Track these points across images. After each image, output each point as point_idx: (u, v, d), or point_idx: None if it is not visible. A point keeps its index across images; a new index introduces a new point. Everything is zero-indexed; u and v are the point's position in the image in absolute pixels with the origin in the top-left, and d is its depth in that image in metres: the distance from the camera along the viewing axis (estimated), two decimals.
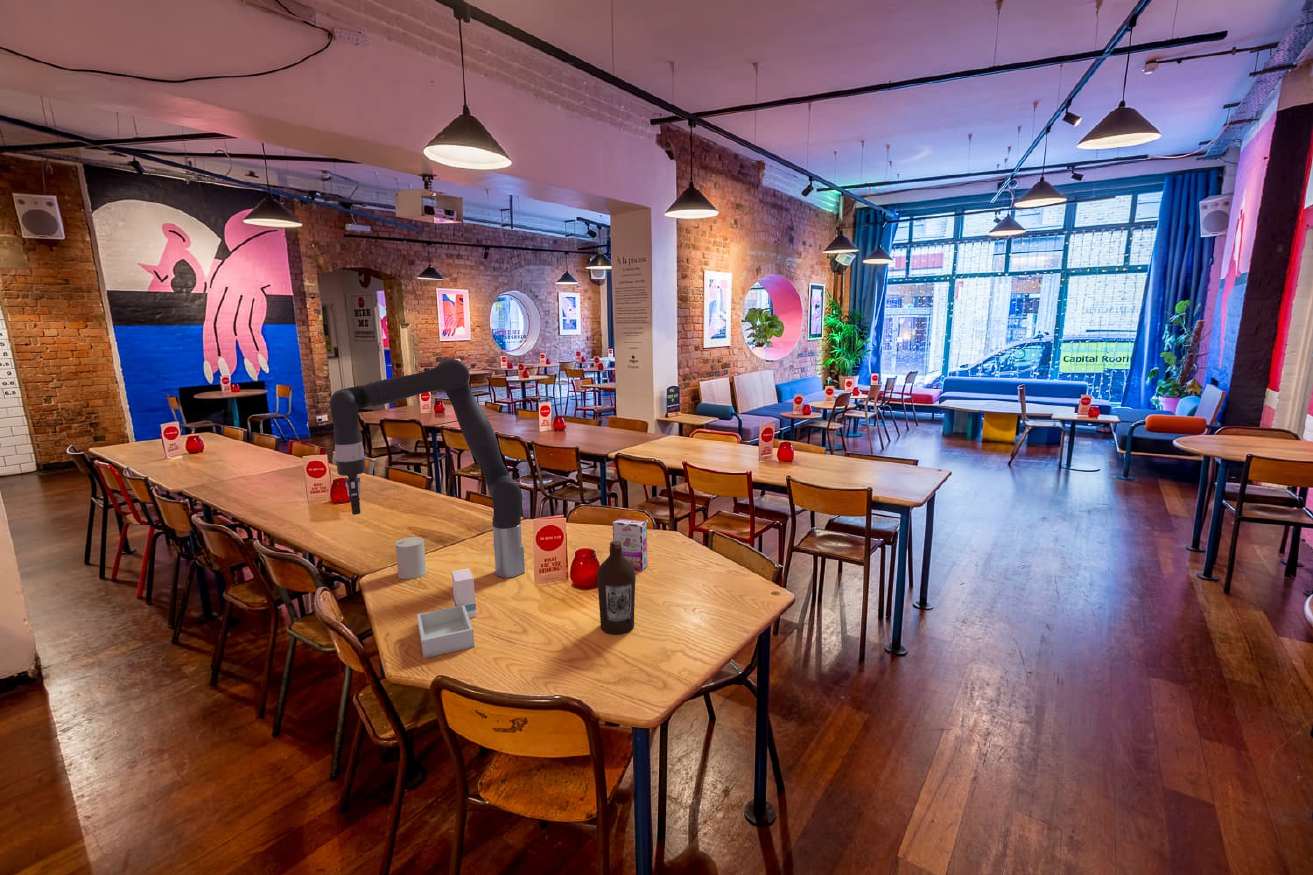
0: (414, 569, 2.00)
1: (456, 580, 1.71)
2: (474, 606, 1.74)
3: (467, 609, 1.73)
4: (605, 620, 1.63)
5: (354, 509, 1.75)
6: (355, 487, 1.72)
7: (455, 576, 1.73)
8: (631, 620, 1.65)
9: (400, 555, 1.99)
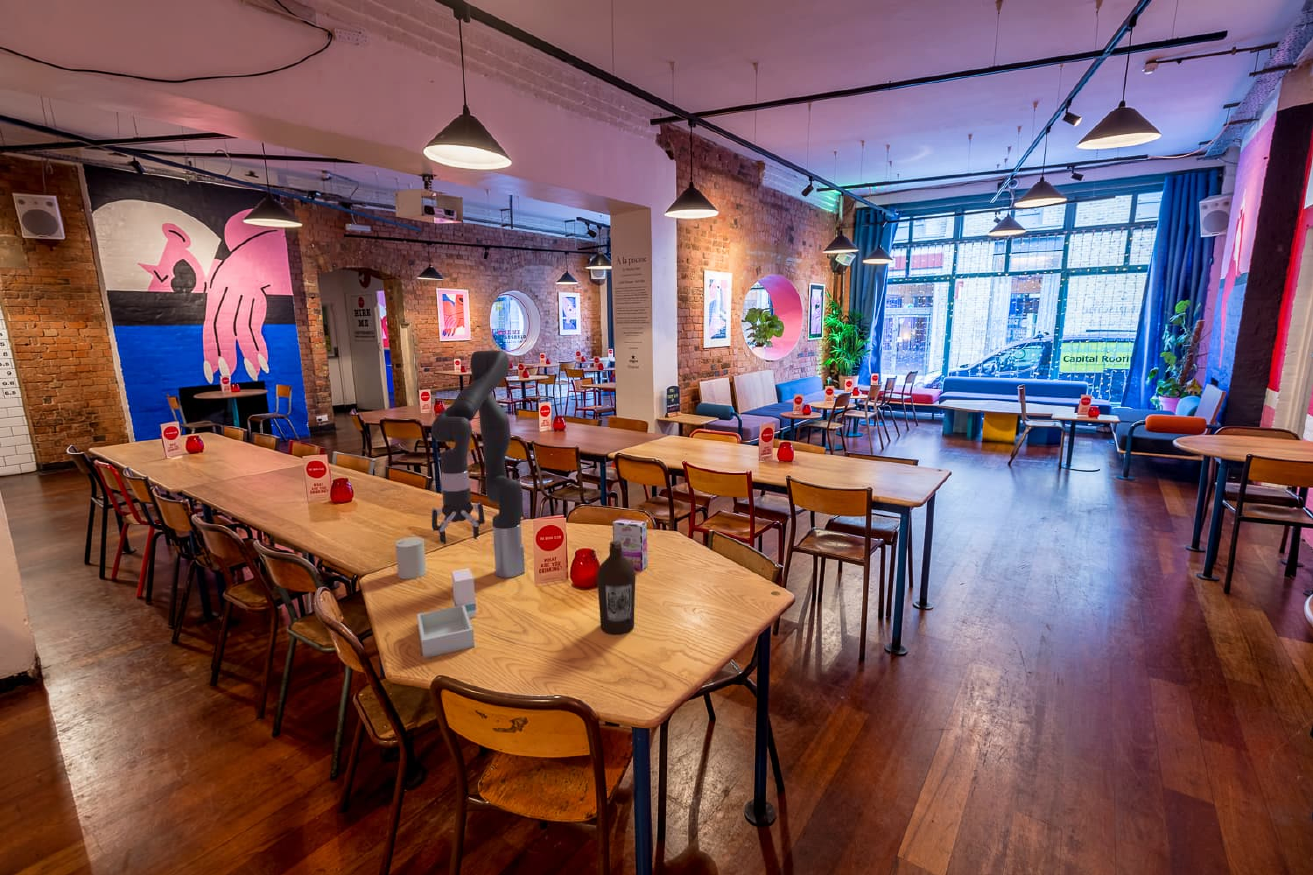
0: (414, 569, 2.00)
1: (456, 580, 1.71)
2: (474, 606, 1.74)
3: (467, 609, 1.73)
4: (605, 620, 1.63)
5: None
6: None
7: (455, 576, 1.73)
8: (631, 620, 1.65)
9: (400, 555, 1.99)
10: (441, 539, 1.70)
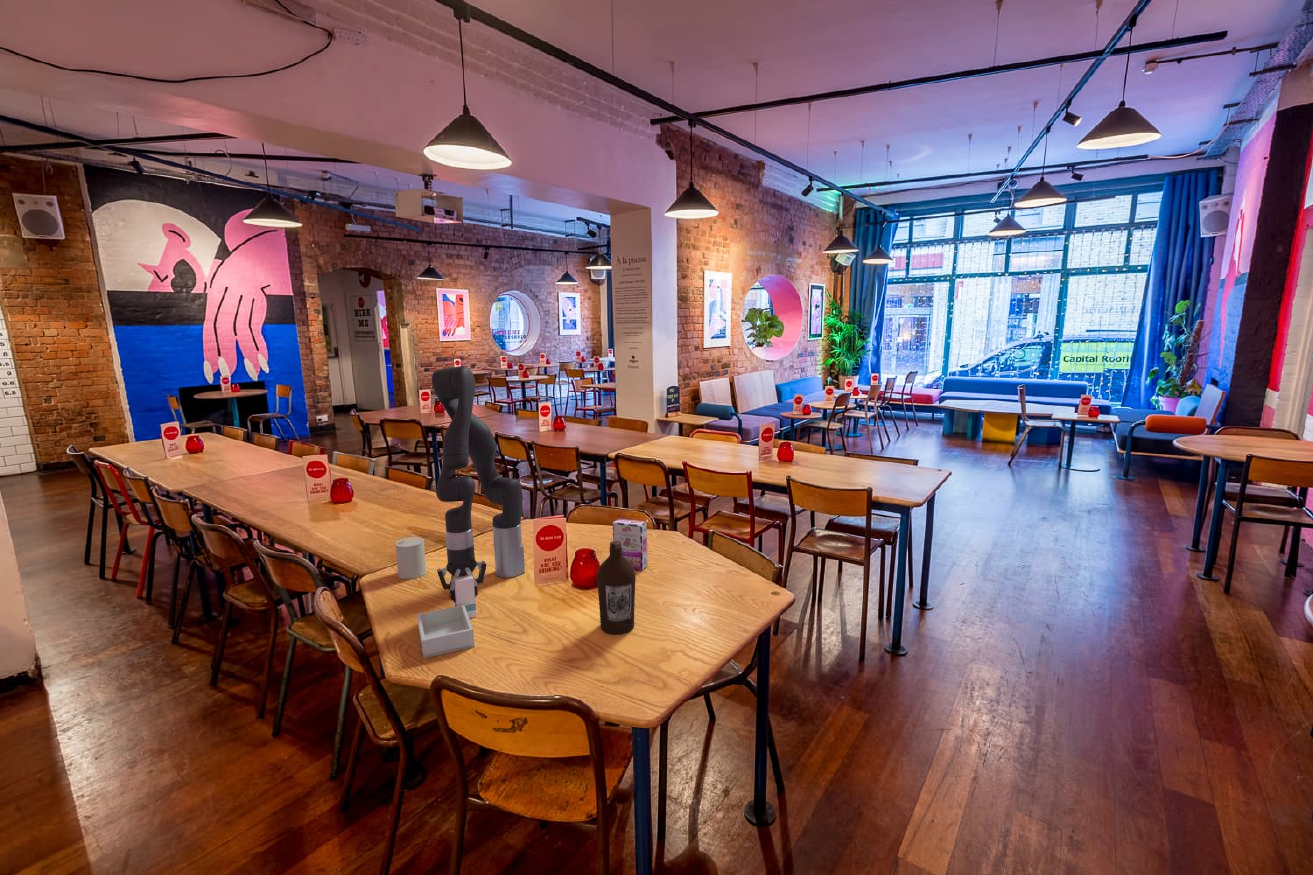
0: (414, 569, 2.00)
1: (456, 580, 1.71)
2: (474, 606, 1.74)
3: (467, 609, 1.73)
4: (605, 620, 1.63)
5: None
6: None
7: None
8: (631, 620, 1.65)
9: (400, 555, 1.99)
10: (451, 597, 1.74)
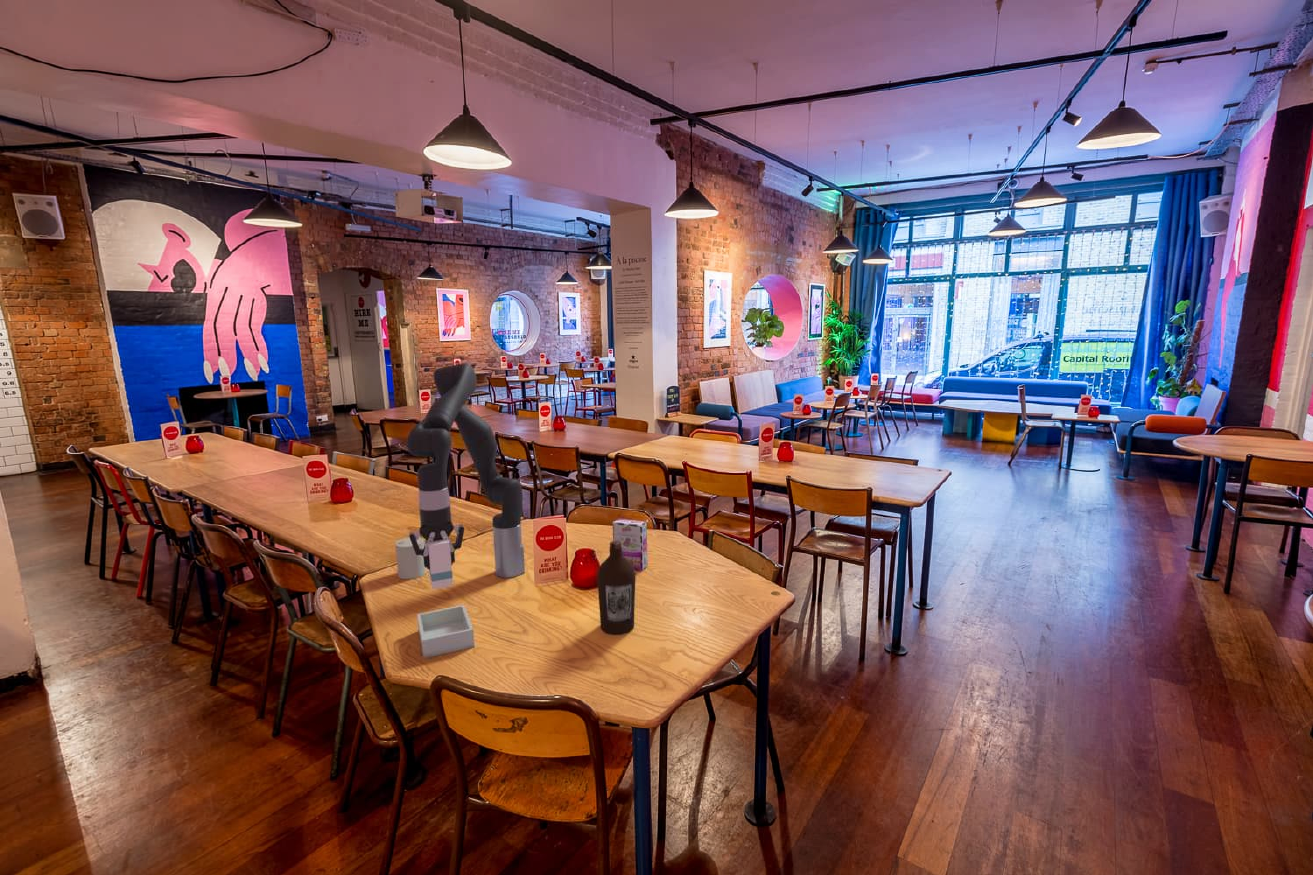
0: (414, 569, 2.00)
1: (430, 544, 1.53)
2: (450, 574, 1.56)
3: (442, 577, 1.55)
4: (605, 620, 1.63)
5: None
6: None
7: None
8: (631, 620, 1.65)
9: (400, 555, 1.99)
10: (425, 564, 1.56)
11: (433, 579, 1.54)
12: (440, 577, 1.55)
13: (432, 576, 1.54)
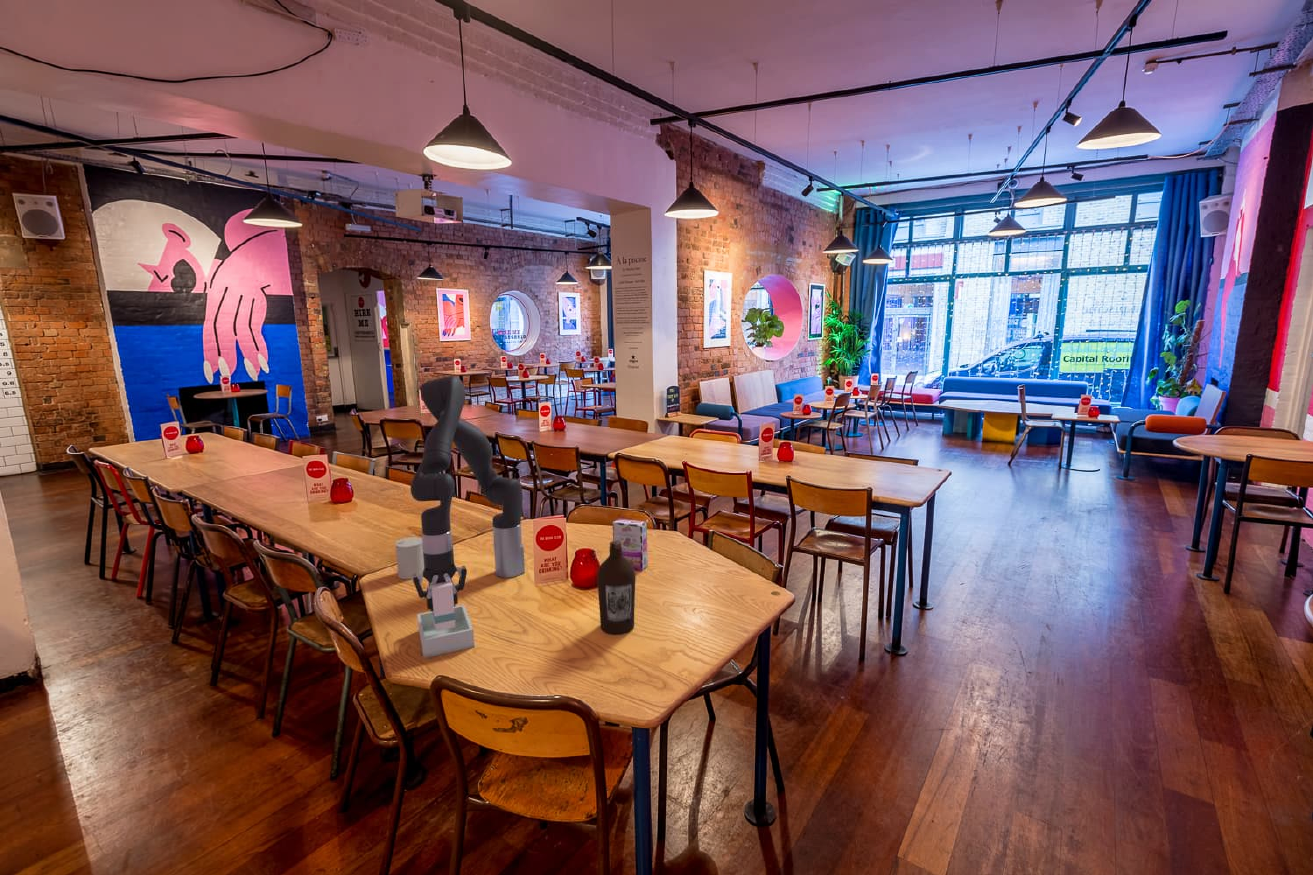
0: (414, 569, 2.00)
1: (433, 587, 1.55)
2: (453, 616, 1.58)
3: (445, 619, 1.57)
4: (605, 620, 1.63)
5: None
6: None
7: None
8: (631, 620, 1.65)
9: (400, 555, 1.99)
10: (428, 606, 1.58)
11: (436, 621, 1.56)
12: (443, 619, 1.57)
13: (435, 618, 1.56)
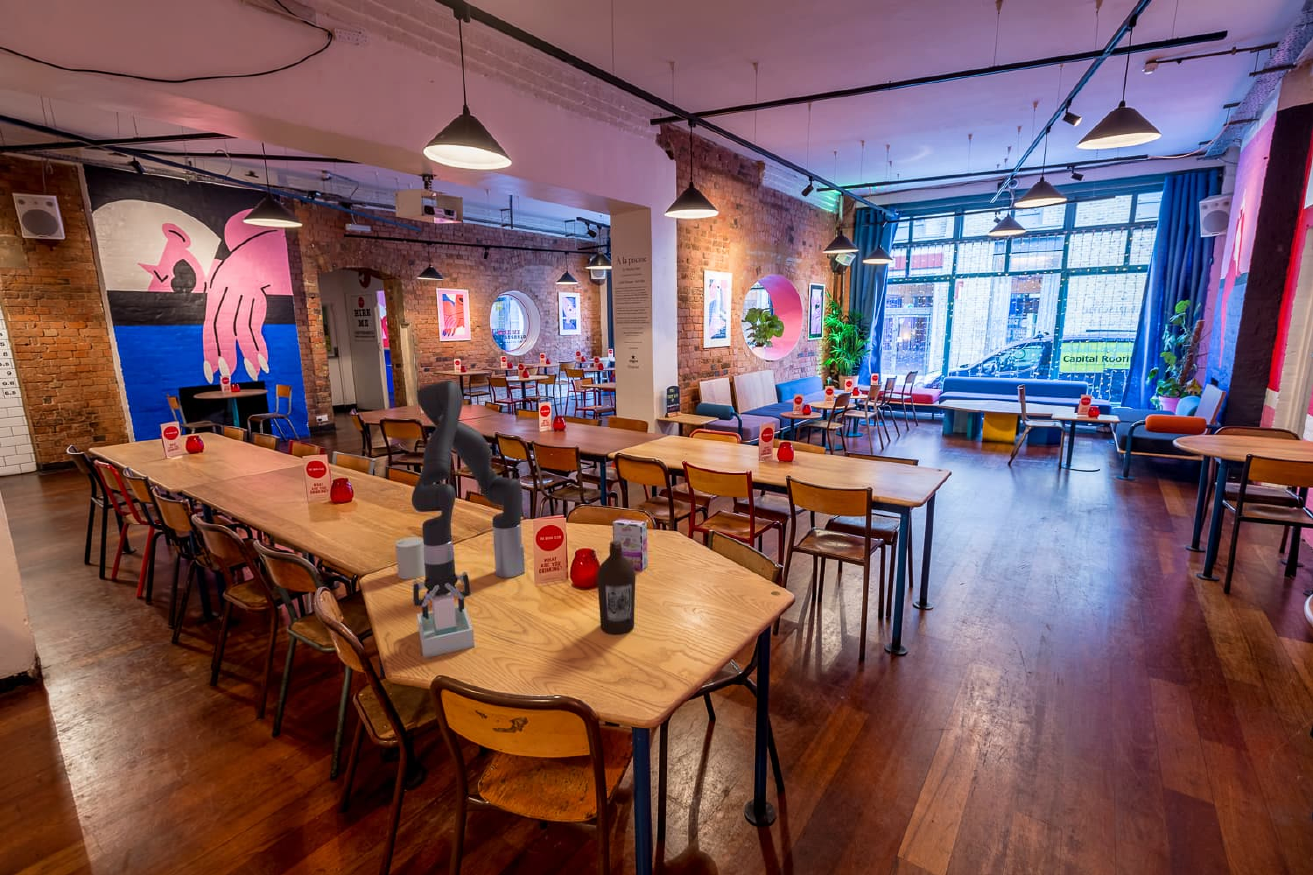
0: (414, 569, 2.00)
1: (435, 601, 1.56)
2: (455, 629, 1.59)
3: (447, 632, 1.58)
4: (605, 620, 1.63)
5: None
6: None
7: (434, 596, 1.59)
8: (631, 620, 1.65)
9: (400, 555, 1.99)
10: (423, 614, 1.58)
11: (438, 635, 1.57)
12: (445, 633, 1.58)
13: (437, 632, 1.57)
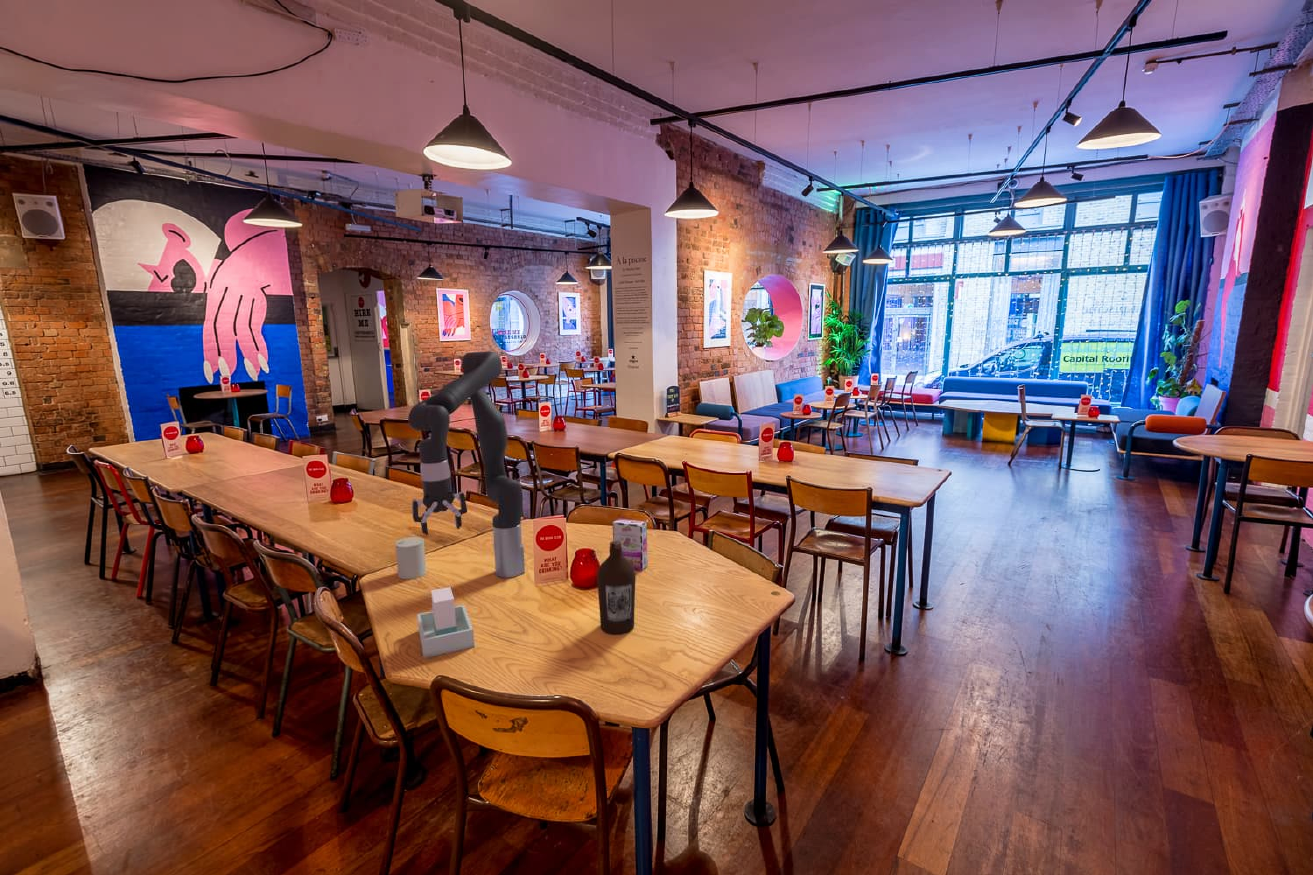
0: (414, 569, 2.00)
1: (435, 601, 1.56)
2: (455, 629, 1.59)
3: (447, 632, 1.58)
4: (605, 620, 1.63)
5: None
6: None
7: (434, 596, 1.59)
8: (631, 620, 1.65)
9: (400, 555, 1.99)
10: (423, 530, 1.66)
11: (438, 635, 1.57)
12: (445, 633, 1.58)
13: (437, 632, 1.57)
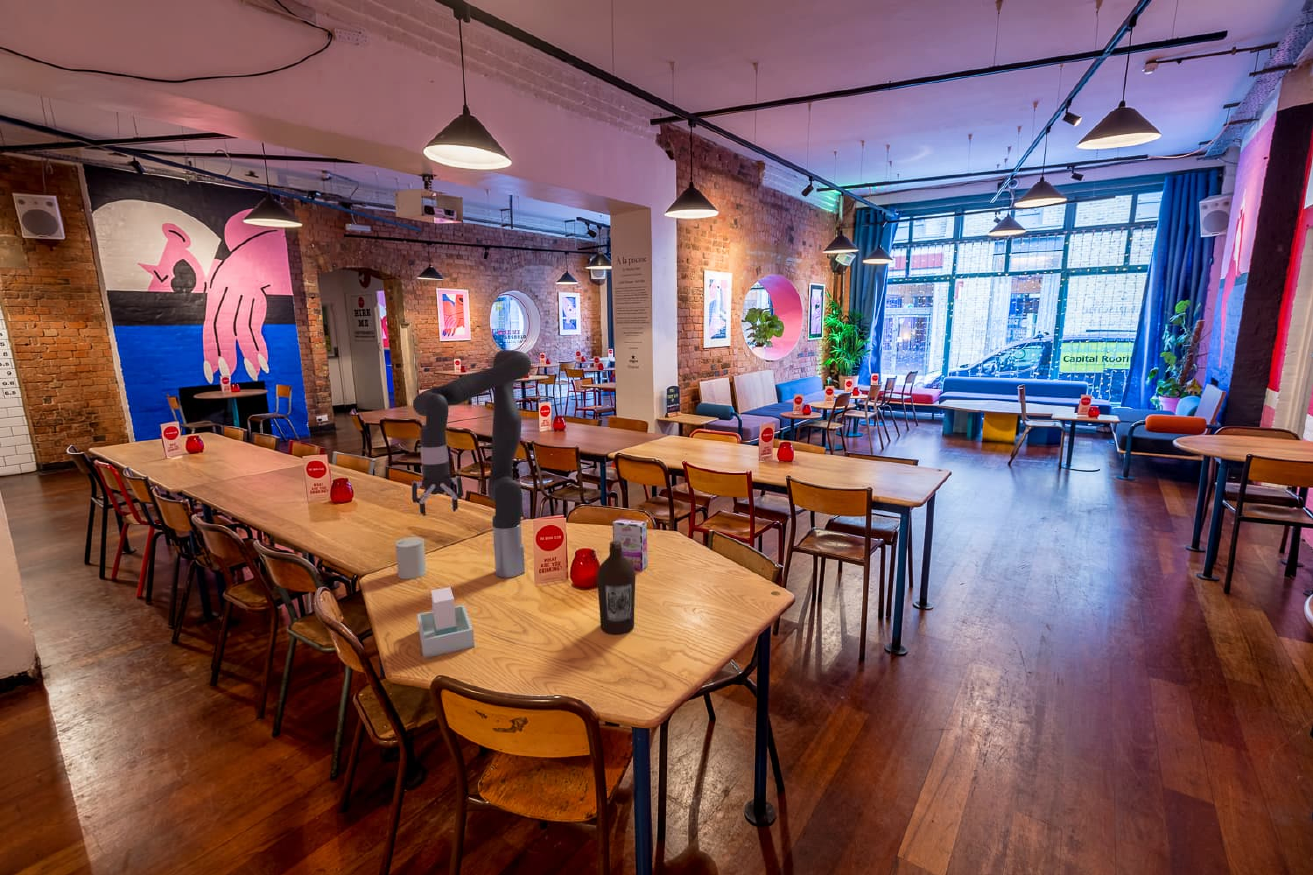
0: (414, 569, 2.00)
1: (435, 601, 1.56)
2: (455, 629, 1.59)
3: (447, 632, 1.58)
4: (605, 620, 1.63)
5: None
6: None
7: (434, 596, 1.59)
8: (631, 620, 1.65)
9: (400, 555, 1.99)
10: (421, 511, 1.76)
11: (438, 635, 1.57)
12: (445, 633, 1.58)
13: (437, 632, 1.57)
